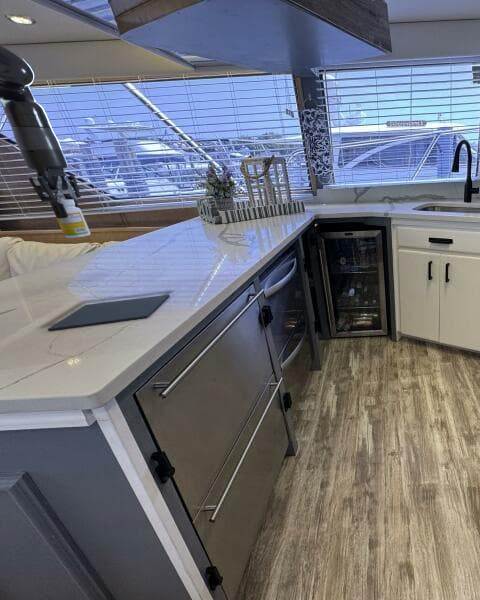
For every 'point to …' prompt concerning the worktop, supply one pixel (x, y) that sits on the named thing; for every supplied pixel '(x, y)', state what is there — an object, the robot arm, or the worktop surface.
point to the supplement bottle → (73, 221)
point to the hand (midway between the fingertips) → (69, 216)
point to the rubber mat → (111, 312)
